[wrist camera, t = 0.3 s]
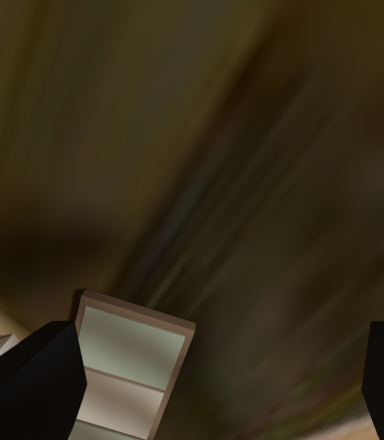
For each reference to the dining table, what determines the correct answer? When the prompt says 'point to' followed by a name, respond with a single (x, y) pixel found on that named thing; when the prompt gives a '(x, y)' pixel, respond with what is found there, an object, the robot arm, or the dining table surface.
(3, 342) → the die
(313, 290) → the dining table surface
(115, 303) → the board
